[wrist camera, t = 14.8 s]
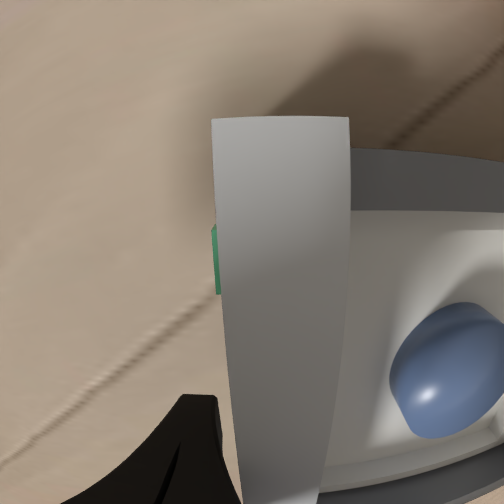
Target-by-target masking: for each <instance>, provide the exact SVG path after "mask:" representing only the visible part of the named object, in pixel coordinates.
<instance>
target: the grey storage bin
mask: <svg viewBox="0 0 504 504" xmlns="http://www.w3.org/2000/svg"><path fill="white" fill-rule="evenodd" d="M350 170H351V211H359V210H400V211H462V212H493V213H504V162H499V161H492V160H486V159H479V158H471V157H464V156H455V155H447V154H437V153H427V152H416V151H403V150H388V149H370V148H350ZM503 485H504V443H502V444H500V445H498V446H496V447H493V448H491V449H489V450H486V451H484V452H481V453H479V454H476V455H474V456H471V457H469V458H466V459H463V460H461V461H458V462H455V463H452V464H449V465H446V466H443V467H440V468H437V469H434V470H430V471H427V472H423V473H420V474H416V475H413V476H409V477H405V478H401V479H397V480H393V481H388V482H384V483H379V484H374V485H369V486H364V487H358V488H352V489H346V490H339V491H332V492H324V493H319V494H318V498H317V502H316V504H464V503H467V502H469V501H472V500H474V499H476V498H478V497H480V496H483V495H485V494H487V493H489V492H491V491H493V490H495V489H497V488H499V487H501V486H503Z"/></svg>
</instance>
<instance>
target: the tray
mask: <svg viewBox="0 0 504 504" xmlns="http://www.w3.org/2000/svg"><path fill="white" fill-rule="evenodd" d="M211 127H212V151H213V173H214V192H215V210H216V224H215V226H214V227H213V229H212V230H211V231H212V245H213V259H214V272H215V285H216V295H217V294H221V297H222V309H223V321H224V333H225V344H226V355H227V366H228V376H229V386H230V396H231V405H232V414H233V424H234V432H235V441H236V450H237V458H238V466H239V474H240V482H241V489H242V497H243V504H316V502H317V498H318V494H319V493H324V492H332V491H339V490H346V489H352V488H358V487H364V486H369V485H374V484H379V483H384V482H388V481H393V480H397V479H401V478H405V477H409V476H413V475H416V474H420V473H423V472H427V471H430V470H434V469H437V468H440V467H443V466H446V465H449V464H452V463H455V462H458V461H461V460H463V459H466V458H469V457H471V456H474V455H476V454H479V453H481V452H484V451H486V450H489V449H491V448H493V447H496V446H498V445H500V444H502V443H504V393H503V395H502V396H501V397H500V399H499V400H498V401H497V402H496V403H495V405H494V406H493V407H492V408H491V409H490V410H489V411H488V412H487V413H486V414H485V415H483V416H482V417H481V418H480V419H479V420H477V421H476V422H475V423H473V424H472V425H470V426H468V427H467V428H465V429H463V430H461V431H459V432H457V433H455V434H452V435H449V436H446V437H442V438H435V439H428V438H422V437H419V436H417V435H416V434H414V433H413V432H412V431H411V430H410V428H409V426H408V424H407V422H406V420H405V418H404V416H403V414H402V412H401V410H400V409H399V407H398V405H397V403H396V401H395V399H394V397H393V395H392V393H391V390H390V385H389V374H390V369H391V365H392V362H393V360H394V357H395V355H396V353H397V351H398V349H399V348H400V346H401V344H402V343H403V341H404V340H405V339H406V337H407V336H408V335H409V334H410V332H411V331H412V330H413V329H414V328H415V327H416V326H417V325H418V324H419V323H420V322H422V321H423V320H424V319H425V318H426V317H428V316H429V315H431V314H432V313H434V312H435V311H437V310H439V309H441V308H443V307H445V306H447V305H450V304H454V303H459V302H471V303H475V304H478V305H480V306H481V307H483V308H484V309H485V310H487V311H488V312H489V313H491V314H492V315H493V316H494V317H496V318H497V319H498V320H499V321H501V322H502V323H503V324H504V213H493V212H462V211H400V210H359V211H351V170H350V133H349V117H332V116H258V117H235V118H219V119H211Z"/></svg>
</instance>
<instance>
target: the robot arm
mask: <svg viewBox="0 0 504 504" xmlns="http://www.w3.org/2000/svg"><path fill="white" fill-rule="evenodd" d="M222 437H223V435H222V428H221V421H220V414H219V407H218V400H217V397H215V396H214V395H196V394H183V395H181V396H180V398H179V399H178V400H177V402H176V403H175V404H174V406H173V407H172V408H171V410H170V411H169V412H168V414H167V415H166V416H165V417H164V419H163V420H162V421H161V422H160V424H159V425H158V426H157V427H156V428H155V429H154V431H153V432H152V433H151V434H150V435H149V436H148V438H147V439H146V440H145V441H144V442H143V443H142V444H141V445H140V446H139V447H138V448H137V449H136V450H135V451H134V452H133V453H132V454H131V455H130V456H129V457H128V458H127V459H126V460H125V461H123V462H122V463H121V464H120V465H119V466H118V467H117V468H115V469H114V470H113V471H112V472H110V473H109V474H108V475H106V476H105V477H104V478H102V479H101V480H100V481H98V482H97V483H95V484H94V485H92V486H91V487H89V488H88V489H86V490H85V491H83V492H81V493H80V494H78V495H76V496H74V497H72V498H70V499H68V500H66V501H65V502H63V503H61V504H241V502H240V500H239V498H238V495H237V493H236V491H235V489H234V486H233V484H232V481H231V479H230V476H229V473H228V471H227V468H226V465H225V461H224V458H223V451H222Z"/></svg>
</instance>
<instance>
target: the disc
mask: <svg viewBox="0 0 504 504" xmlns="http://www.w3.org/2000/svg"><path fill="white" fill-rule="evenodd" d="M389 385H390V390H391V393H392V395H393V397H394V399H395V401H396V403H397V405H398V407H399V409H400V410H401V412H402V414H403V416H404V418H405V420H406V422H407V424H408V426H409V428H410V430H411V431H412V432H413V433H414V434H416V435H417V436H419V437H422V438H428V439H435V438H442V437H446V436H449V435H452V434H455V433H457V432H459V431H461V430H463V429H465V428H467V427H468V426H470V425H472V424H473V423H475V422H476V421H477V420H479V419H480V418H481V417H482V416H483V415H485V414H486V413H487V412H488V411H489V410H490V409H491V408H492V407H493V406H494V405H495V403H496V402H497V401H498V400H499V399H500V397H501V396H502V395H503V393H504V324H503V323H502V322H501V321H499V320H498V319H497V318H496V317H494V316H493V315H492V314H491V313H489V312H488V311H487V310H485V309H484V308H483V307H481V306H480V305H478V304H475V303H471V302H459V303H454V304H450V305H447V306H445V307H443V308H441V309H439V310H437V311H435V312H434V313H432V314H431V315H429V316H428V317H426V318H425V319H424V320H423V321H422V322H420V323H419V324H418V325H417V326H416V327H415V328H414V329H413V330H412V331H411V332H410V334H409V335H408V336H407V337H406V339H405V340H404V341H403V343H402V344H401V346H400V348H399V349H398V351H397V353H396V355H395V357H394V360H393V362H392V365H391V369H390V374H389Z"/></svg>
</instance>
